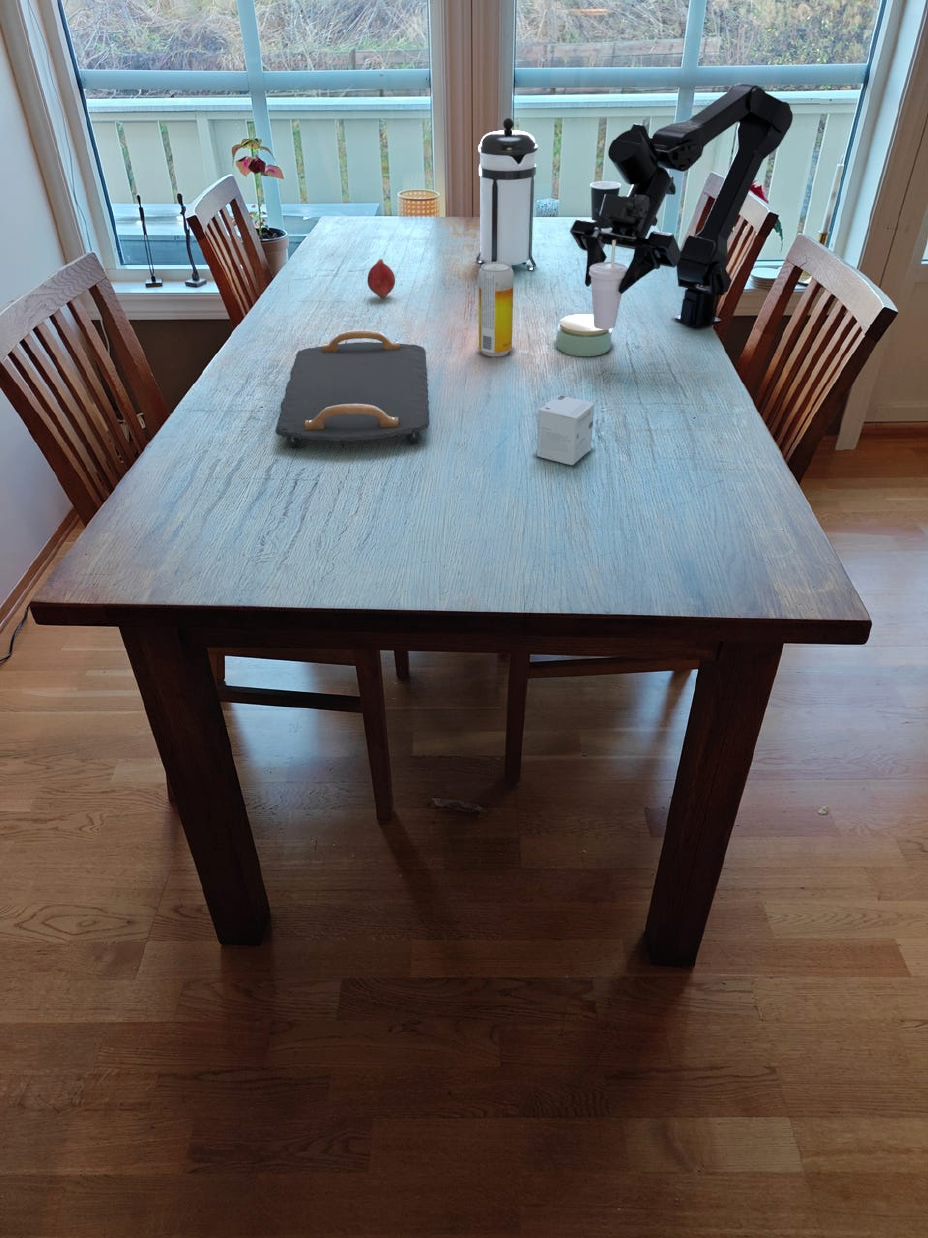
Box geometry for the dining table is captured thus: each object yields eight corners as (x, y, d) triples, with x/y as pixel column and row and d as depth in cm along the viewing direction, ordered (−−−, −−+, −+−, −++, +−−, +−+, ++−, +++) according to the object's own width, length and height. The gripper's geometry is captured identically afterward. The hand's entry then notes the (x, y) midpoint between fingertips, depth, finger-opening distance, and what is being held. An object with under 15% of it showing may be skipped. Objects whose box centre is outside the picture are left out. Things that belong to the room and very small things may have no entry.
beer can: (516, 347, 155) (519, 263, 146) (504, 359, 151) (505, 272, 141) (486, 343, 157) (487, 259, 148) (473, 354, 153) (472, 268, 143)
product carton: (573, 466, 119) (576, 418, 114) (535, 456, 121) (537, 408, 117) (591, 449, 123) (595, 402, 118) (554, 440, 125) (557, 393, 121)
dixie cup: (607, 225, 224) (611, 179, 217) (622, 232, 218) (627, 185, 212) (581, 228, 222) (584, 182, 215) (595, 235, 216) (599, 188, 209)
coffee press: (550, 261, 199) (558, 114, 180) (517, 278, 188) (521, 125, 169) (488, 251, 206) (489, 109, 187) (453, 267, 195) (450, 119, 177)
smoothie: (619, 333, 142) (627, 246, 133) (582, 330, 143) (587, 244, 134) (626, 320, 146) (633, 235, 137) (589, 317, 148) (595, 233, 139)
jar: (587, 332, 161) (589, 309, 158) (621, 348, 154) (624, 325, 151) (545, 343, 157) (546, 319, 154) (578, 360, 150) (580, 335, 147)
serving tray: (431, 453, 122) (429, 413, 119) (272, 459, 122) (265, 419, 118) (426, 355, 153) (425, 321, 149) (299, 359, 152) (294, 325, 148)
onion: (364, 300, 177) (360, 260, 172) (376, 292, 182) (373, 253, 177) (388, 303, 176) (386, 263, 171) (400, 295, 180) (398, 256, 175)
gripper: (579, 164, 137) (538, 252, 138) (682, 178, 128) (638, 272, 128) (601, 206, 147) (563, 288, 147) (698, 221, 137) (657, 309, 138)
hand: (602, 288), depth 140 cm, fingers closed on smoothie, 6 cm apart
